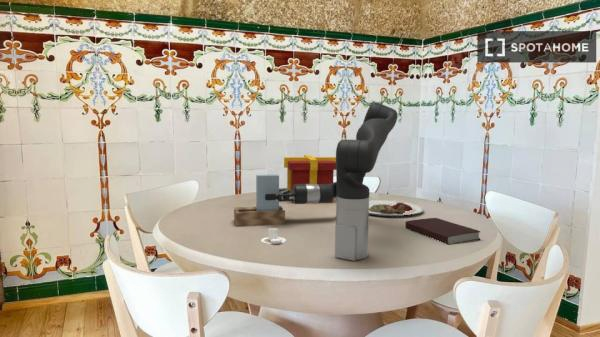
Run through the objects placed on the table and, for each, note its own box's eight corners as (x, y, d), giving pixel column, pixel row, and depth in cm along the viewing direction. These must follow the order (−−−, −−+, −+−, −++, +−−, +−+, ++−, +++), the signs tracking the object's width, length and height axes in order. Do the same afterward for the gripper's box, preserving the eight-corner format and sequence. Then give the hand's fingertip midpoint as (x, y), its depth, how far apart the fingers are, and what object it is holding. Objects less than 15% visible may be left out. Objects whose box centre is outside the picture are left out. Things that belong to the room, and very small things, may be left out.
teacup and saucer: (282, 246, 135) (282, 233, 135) (257, 245, 137) (257, 232, 136) (288, 239, 144) (288, 226, 143) (264, 237, 145) (264, 225, 145)
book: (446, 246, 138) (447, 234, 137) (404, 229, 157) (405, 219, 157) (480, 241, 143) (481, 230, 143) (435, 226, 163) (436, 216, 162)
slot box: (280, 218, 170) (280, 205, 170) (285, 224, 161) (285, 210, 161) (234, 220, 166) (234, 207, 166) (236, 226, 158) (235, 212, 157)
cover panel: (277, 221, 166) (277, 174, 163) (278, 223, 163) (279, 175, 160) (256, 222, 164) (256, 174, 162) (257, 224, 161) (257, 175, 159)
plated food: (337, 208, 190) (337, 201, 190) (384, 201, 208) (385, 194, 208) (390, 222, 166) (390, 213, 166) (438, 212, 184) (438, 204, 184)
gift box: (282, 194, 221) (282, 155, 219) (330, 194, 224) (331, 154, 221) (286, 205, 196) (286, 160, 194) (340, 204, 199) (341, 159, 197)
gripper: (302, 181, 172) (261, 182, 168) (310, 187, 158) (266, 188, 154) (301, 200, 173) (261, 201, 169) (310, 207, 159) (266, 209, 155)
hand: (263, 195), depth 162 cm, fingers open, 8 cm apart
